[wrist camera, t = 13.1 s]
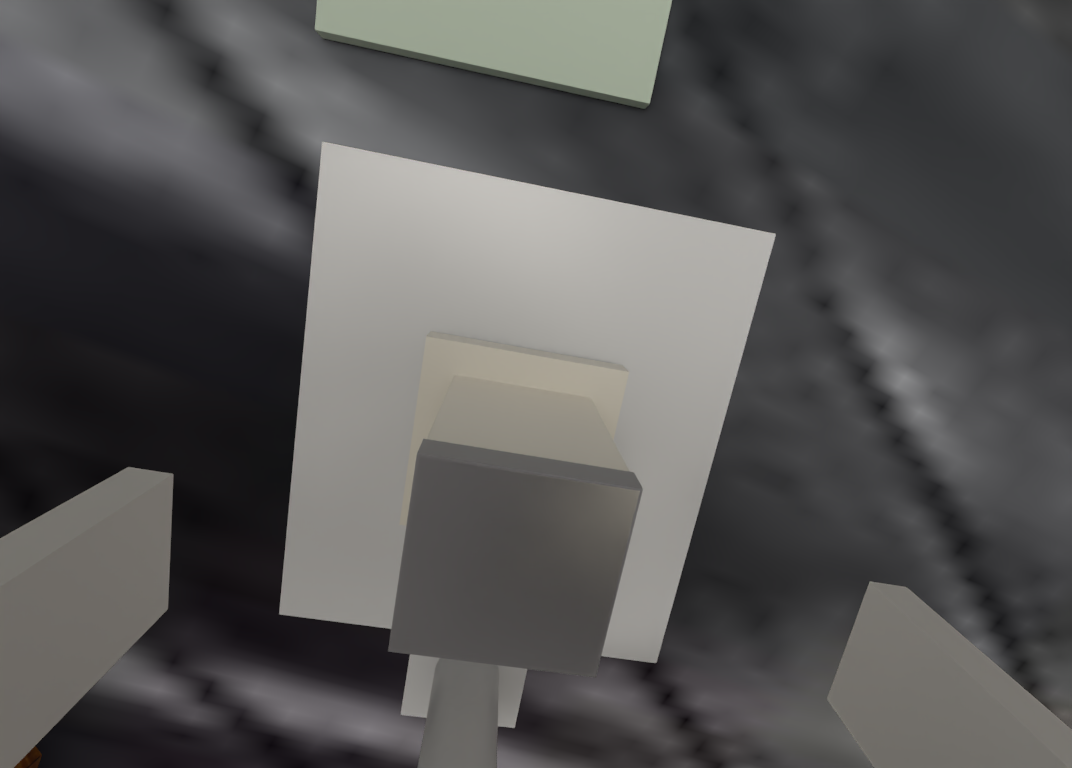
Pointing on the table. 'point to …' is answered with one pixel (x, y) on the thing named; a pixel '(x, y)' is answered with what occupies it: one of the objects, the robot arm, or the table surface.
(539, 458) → the plug
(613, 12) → the mat
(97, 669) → the robot arm
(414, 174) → the socket
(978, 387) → the table surface
